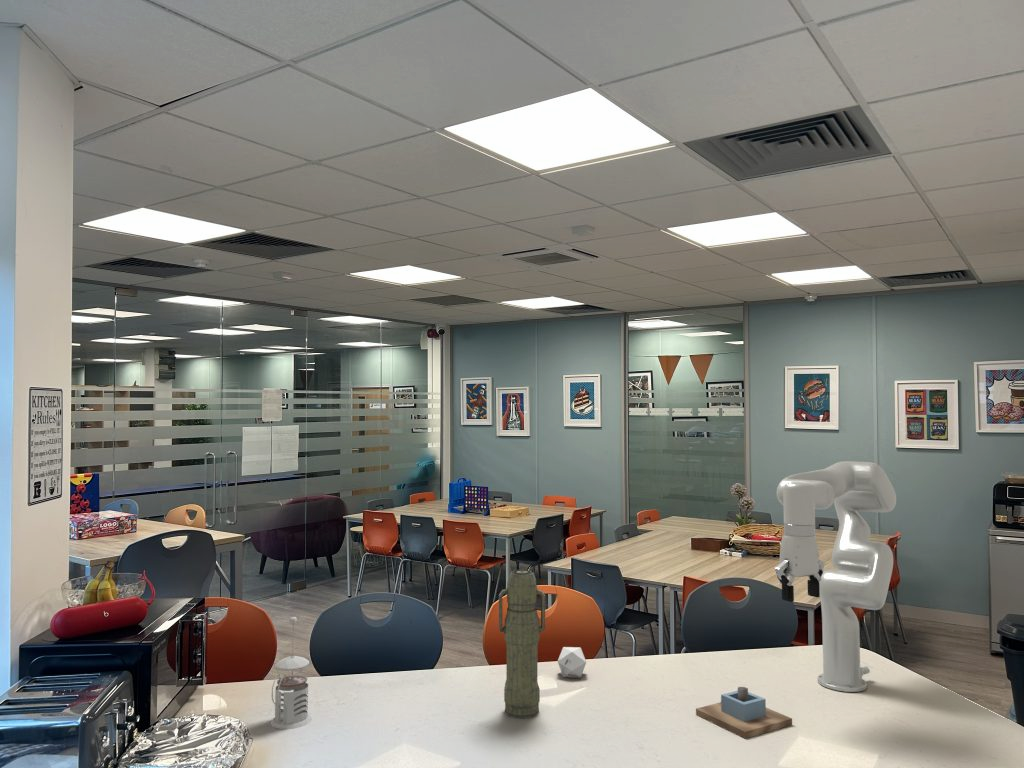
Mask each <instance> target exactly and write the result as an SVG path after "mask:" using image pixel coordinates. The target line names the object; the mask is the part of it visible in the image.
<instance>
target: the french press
mask: <svg viewBox="0 0 1024 768" xmlns="http://www.w3.org/2000/svg"><path fill="white" fill-rule="evenodd" d="M288 621H289V623H292V634H294V625H295V624H294V623H297V622H298V619H297V617H296V616H291V617H290V618H289V620H288ZM291 640H292V644H291V646H292V647H291V648H292V649H291V650H292V651H291V655H289V656H287V657H284V658H282V659H280V660H279V661H277V662H276V663H275V665H274V667H275V668H276V669H277V670H280V671H291V675H288V676H286V675H285V674H283V676H282V677H281V675H280V673H279V674H277V676H276V677H275V678H274V681H273V683H272V686H271V700H272V703H273V704H274V717H273V718H272V719H271V720H270V726H272V727H273V728H276V729H279V730H280V729H281V730H282V729H283V730H289V729H296V728H297V729H298V728H301V727H304V726H306V725H308V724H310V723H311V722H312V720H313V719H312V718H313V717H312V716H311V715H310V714H309V712H308V710H309V707H308V705H309V701H308V700H309V696H308V695H309V683H308V682H307V681H308V678H307V677H306V676H304V675H300V674H299V675H295V674H294V675H293V671H294V670H295V671H296V670H300V669H304V668H306V667H307V666H308V665H310V661H309V659H307V658H305V657H304V656H298V655H294V636H292V639H291ZM277 678H278V679H277ZM275 682H276V684H277V685H276V686H275ZM274 686H275V690H274ZM274 691H275V693H274ZM281 691H282V692H281ZM274 694H275V695H274ZM274 696H275V699H274ZM274 700H275V701H274ZM282 702H283V703H282Z"/></svg>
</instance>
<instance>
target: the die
mask: <svg viewBox="0 0 1024 768" xmlns="http://www.w3.org/2000/svg"><path fill="white" fill-rule="evenodd" d="M557 663H558V664H557V665H558V667H559V669H560V672H561V675H562V677H563V678H575V679H576V678H577V679H578V678H579V679H580V678H582V675H583V672H584V670H585V667H586V664H587V661H586V658H585V655H584V653H583V650H582V648H581V646H580V647H577V646H576V647H575V646H574V647H573V646H563V647H562V649H561V652H560V654H559V657H558V659H557Z"/></svg>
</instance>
